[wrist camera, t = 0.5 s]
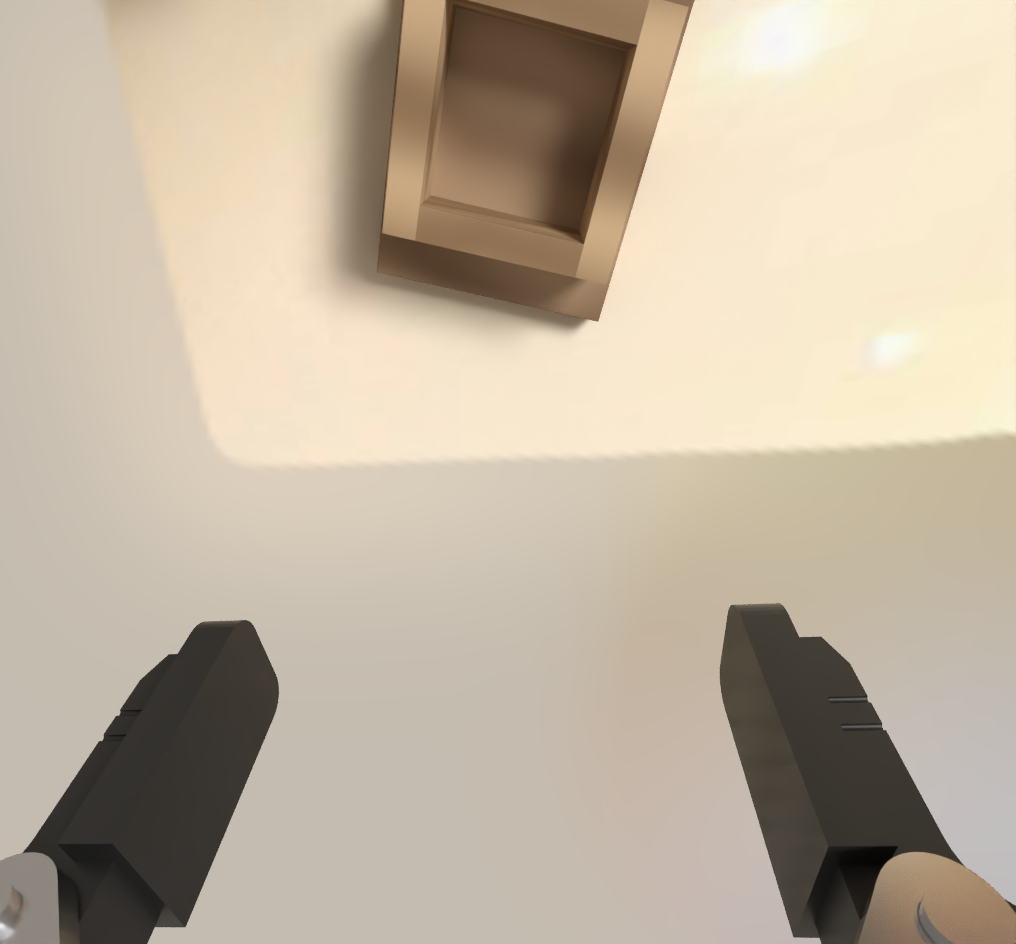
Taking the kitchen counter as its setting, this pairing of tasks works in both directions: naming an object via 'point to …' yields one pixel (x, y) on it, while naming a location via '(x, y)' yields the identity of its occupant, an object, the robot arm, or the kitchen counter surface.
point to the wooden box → (523, 143)
